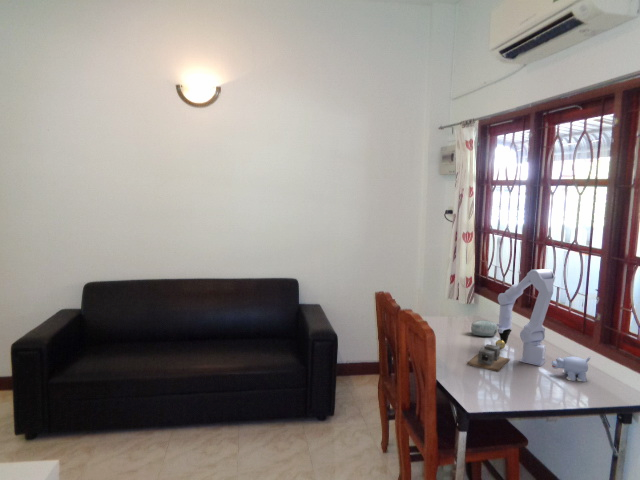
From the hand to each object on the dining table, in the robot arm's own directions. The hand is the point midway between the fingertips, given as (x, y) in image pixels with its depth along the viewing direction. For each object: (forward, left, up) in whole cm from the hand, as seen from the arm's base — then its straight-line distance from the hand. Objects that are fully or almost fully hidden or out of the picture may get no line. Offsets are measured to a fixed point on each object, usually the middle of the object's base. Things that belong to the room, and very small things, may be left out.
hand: (503, 343), depth 247 cm
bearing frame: (0, +23, -3) cm, 23 cm away
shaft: (0, +16, -1) cm, 16 cm away
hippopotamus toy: (-33, +17, -3) cm, 37 cm away
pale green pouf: (+15, -16, -3) cm, 22 cm away
